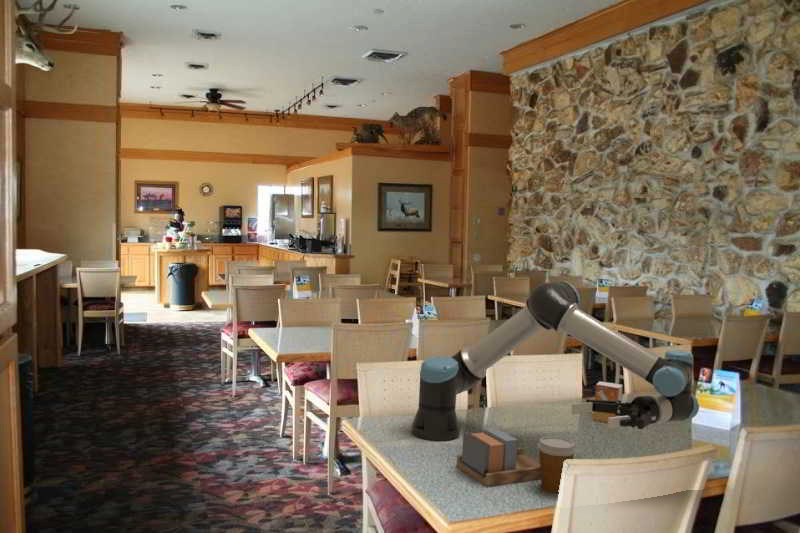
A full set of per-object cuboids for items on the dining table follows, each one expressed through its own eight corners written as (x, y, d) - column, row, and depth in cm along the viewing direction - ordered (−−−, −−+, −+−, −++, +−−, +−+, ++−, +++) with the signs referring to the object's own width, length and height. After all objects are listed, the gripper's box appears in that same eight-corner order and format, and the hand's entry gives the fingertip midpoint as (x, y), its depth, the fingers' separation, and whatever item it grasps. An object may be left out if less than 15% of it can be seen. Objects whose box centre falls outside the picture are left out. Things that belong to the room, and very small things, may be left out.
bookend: (465, 462, 181) (467, 431, 181) (487, 477, 171) (489, 444, 171) (460, 463, 181) (462, 432, 180) (482, 477, 171) (484, 445, 170)
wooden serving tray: (520, 457, 192) (521, 447, 192) (555, 476, 178) (555, 465, 178) (456, 465, 183) (457, 454, 183) (487, 486, 169) (488, 475, 169)
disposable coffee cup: (567, 481, 175) (570, 436, 175) (577, 496, 166) (581, 449, 165) (531, 480, 175) (534, 435, 174) (539, 495, 166) (543, 447, 165)
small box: (592, 420, 235) (595, 383, 235) (597, 416, 241) (599, 380, 240) (616, 424, 231) (619, 387, 231) (620, 420, 237) (622, 384, 236)
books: (491, 459, 185) (493, 427, 185) (515, 473, 175) (517, 439, 175) (466, 462, 181) (468, 429, 181) (488, 477, 172) (490, 442, 171)
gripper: (686, 436, 172) (624, 445, 162) (616, 411, 194) (558, 417, 185) (688, 407, 171) (626, 414, 162) (617, 385, 194) (559, 390, 184)
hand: (590, 416), depth 173 cm, fingers open, 13 cm apart
